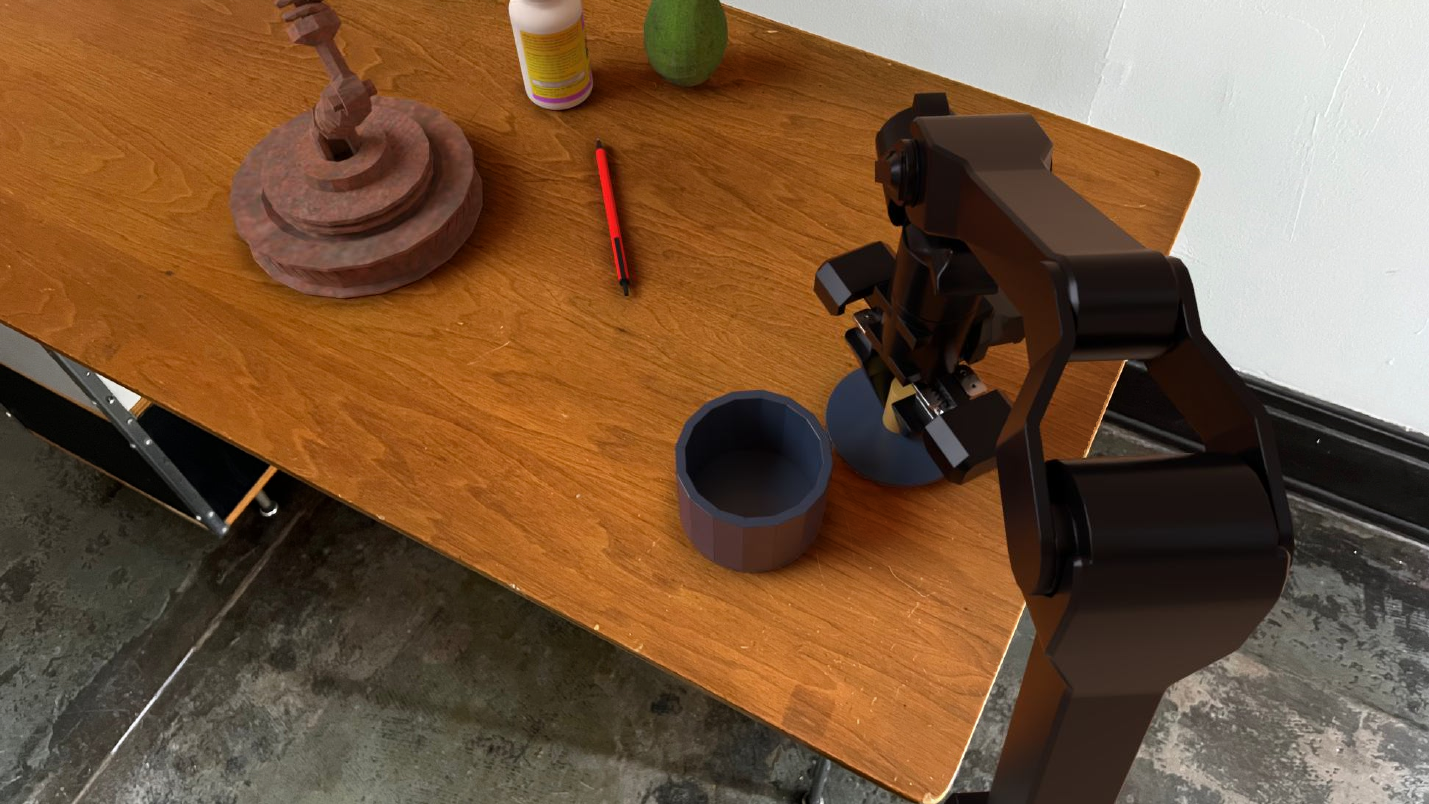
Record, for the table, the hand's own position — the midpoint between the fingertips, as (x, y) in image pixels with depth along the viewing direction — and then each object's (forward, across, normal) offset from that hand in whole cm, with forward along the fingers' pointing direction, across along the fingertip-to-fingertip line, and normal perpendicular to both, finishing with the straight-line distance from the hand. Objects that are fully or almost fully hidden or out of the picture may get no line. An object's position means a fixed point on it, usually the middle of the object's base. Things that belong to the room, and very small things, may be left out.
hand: (898, 419), depth 73 cm
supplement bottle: (+1, +48, +9) cm, 49 cm away
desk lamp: (+1, +43, +31) cm, 52 cm away
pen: (+1, +30, +11) cm, 32 cm away
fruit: (+1, +44, -3) cm, 44 cm away
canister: (+1, -1, +13) cm, 13 cm away
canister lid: (+1, 0, 0) cm, 1 cm away
